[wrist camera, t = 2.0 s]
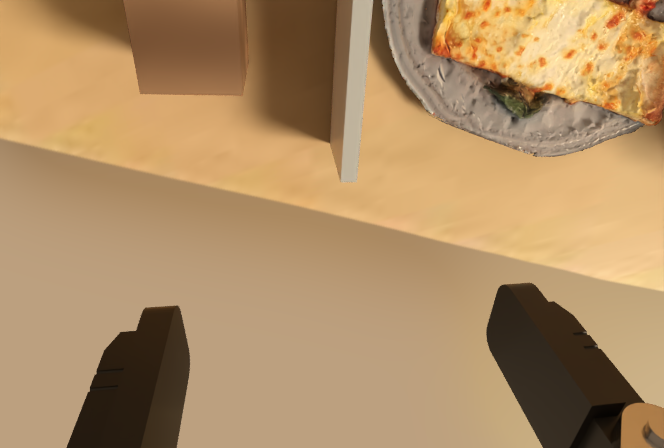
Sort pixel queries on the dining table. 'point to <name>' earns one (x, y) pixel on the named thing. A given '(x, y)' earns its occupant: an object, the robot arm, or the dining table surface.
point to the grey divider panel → (349, 84)
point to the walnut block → (189, 46)
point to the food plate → (533, 67)
